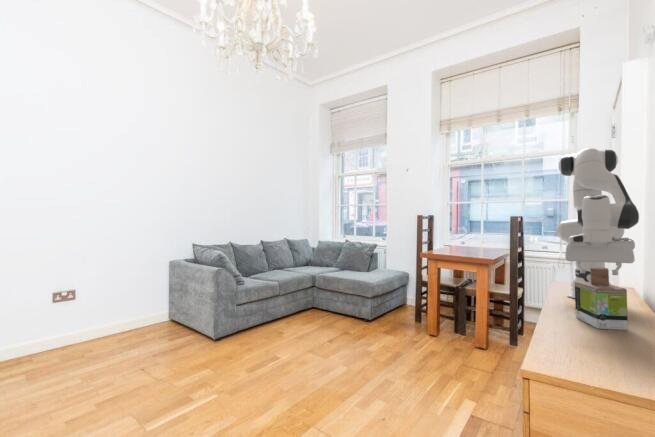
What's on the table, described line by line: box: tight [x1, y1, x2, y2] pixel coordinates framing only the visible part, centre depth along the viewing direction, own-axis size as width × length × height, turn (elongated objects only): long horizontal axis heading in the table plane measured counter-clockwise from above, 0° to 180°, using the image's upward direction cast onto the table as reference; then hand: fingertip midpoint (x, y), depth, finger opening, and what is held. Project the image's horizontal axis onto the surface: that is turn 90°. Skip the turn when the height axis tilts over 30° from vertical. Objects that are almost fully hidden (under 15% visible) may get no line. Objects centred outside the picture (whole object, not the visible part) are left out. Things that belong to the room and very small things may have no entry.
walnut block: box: [590, 267, 610, 286], centre depth 124 cm, size 5×5×6 cm
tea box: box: [574, 282, 629, 331], centre depth 124 cm, size 15×10×15 cm
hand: (598, 274), depth 124 cm, fingers open, 8 cm apart
